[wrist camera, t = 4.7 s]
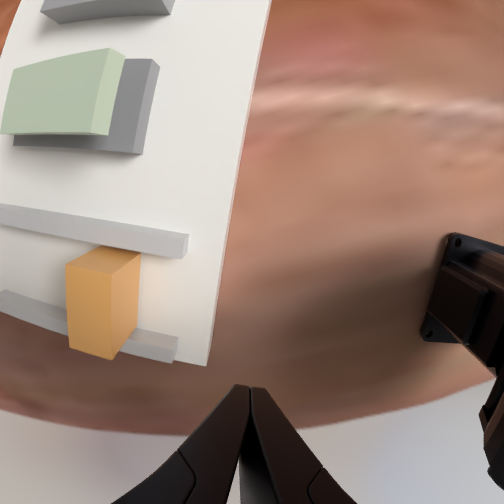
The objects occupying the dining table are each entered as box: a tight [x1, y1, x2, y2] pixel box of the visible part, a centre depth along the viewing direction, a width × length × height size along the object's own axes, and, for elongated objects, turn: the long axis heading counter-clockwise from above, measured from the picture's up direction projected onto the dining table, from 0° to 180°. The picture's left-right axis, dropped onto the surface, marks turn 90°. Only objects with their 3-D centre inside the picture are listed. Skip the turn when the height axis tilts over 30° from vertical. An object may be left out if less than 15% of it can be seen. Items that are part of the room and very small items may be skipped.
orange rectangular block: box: [65, 245, 141, 360], centre depth 12 cm, size 2×4×3 cm, turn 170°
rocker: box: [0, 48, 126, 136], centre depth 10 cm, size 6×3×1 cm, turn 80°
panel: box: [0, 0, 272, 366], centre depth 12 cm, size 15×23×4 cm, turn 170°
